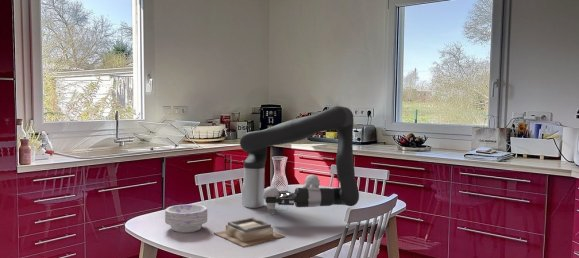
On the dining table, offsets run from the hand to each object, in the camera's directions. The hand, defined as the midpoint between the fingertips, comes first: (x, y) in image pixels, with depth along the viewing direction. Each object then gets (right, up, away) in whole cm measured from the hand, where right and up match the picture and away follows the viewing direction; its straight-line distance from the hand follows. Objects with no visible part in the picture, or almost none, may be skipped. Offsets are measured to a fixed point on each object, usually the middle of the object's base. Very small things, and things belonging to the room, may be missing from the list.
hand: (264, 198), depth 182 cm
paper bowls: (-29, -11, -7) cm, 31 cm away
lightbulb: (+2, -7, +1) cm, 7 cm away
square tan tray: (-5, -11, -13) cm, 18 cm away
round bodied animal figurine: (+22, -6, +64) cm, 68 cm away
